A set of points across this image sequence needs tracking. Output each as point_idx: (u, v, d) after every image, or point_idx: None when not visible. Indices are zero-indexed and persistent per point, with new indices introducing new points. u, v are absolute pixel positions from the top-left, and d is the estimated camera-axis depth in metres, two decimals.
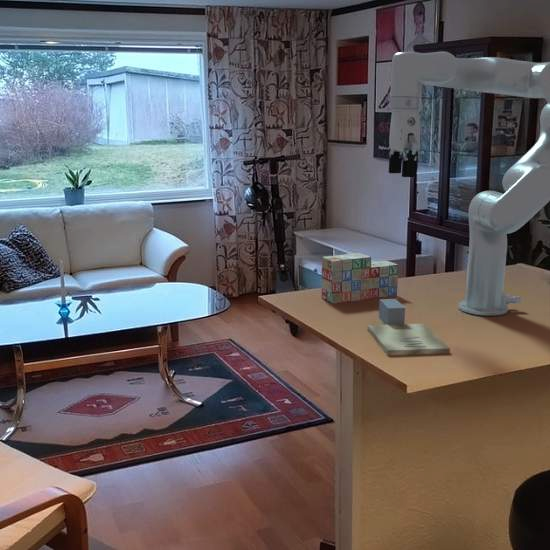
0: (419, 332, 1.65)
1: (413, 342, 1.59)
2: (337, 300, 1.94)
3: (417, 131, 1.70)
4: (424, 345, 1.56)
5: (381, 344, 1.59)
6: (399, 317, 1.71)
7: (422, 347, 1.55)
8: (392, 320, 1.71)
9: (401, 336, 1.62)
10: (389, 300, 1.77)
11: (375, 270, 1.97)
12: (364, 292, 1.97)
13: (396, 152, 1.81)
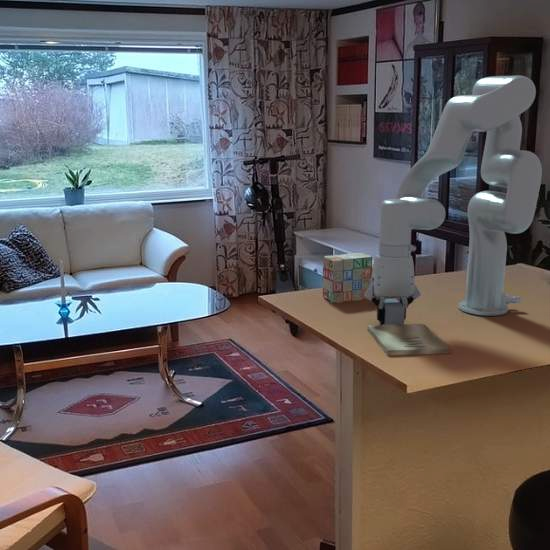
0: (419, 332, 1.65)
1: (413, 342, 1.59)
2: (338, 299, 1.95)
3: None
4: (424, 345, 1.56)
5: (381, 344, 1.59)
6: (399, 317, 1.71)
7: (422, 347, 1.55)
8: (392, 319, 1.71)
9: (401, 336, 1.62)
10: (389, 300, 1.77)
11: None
12: None
13: None
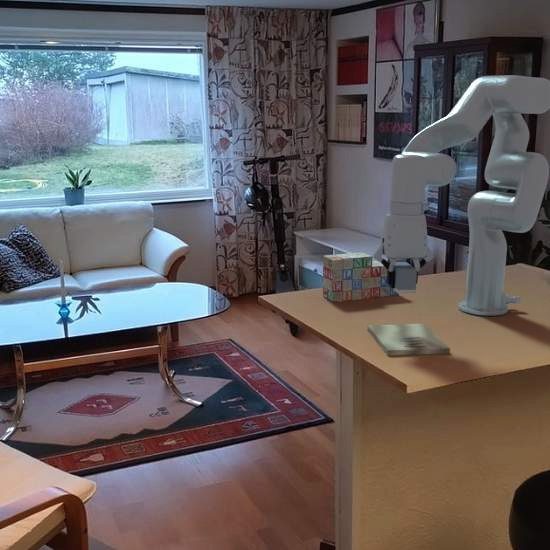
0: (419, 332, 1.65)
1: (413, 342, 1.59)
2: (338, 299, 1.96)
3: None
4: (424, 345, 1.56)
5: (381, 344, 1.59)
6: (410, 279, 1.61)
7: (422, 347, 1.55)
8: (403, 282, 1.60)
9: (401, 336, 1.62)
10: (400, 263, 1.66)
11: (376, 270, 1.98)
12: (365, 291, 1.98)
13: None
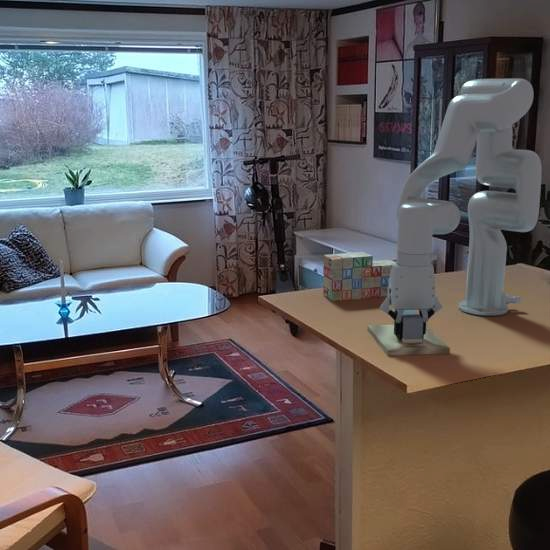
0: None
1: None
2: (337, 298, 1.96)
3: None
4: (424, 345, 1.56)
5: (381, 344, 1.59)
6: (417, 329, 1.57)
7: (422, 347, 1.55)
8: (409, 332, 1.57)
9: None
10: (406, 311, 1.63)
11: (376, 269, 1.99)
12: (365, 291, 1.99)
13: (395, 315, 1.60)
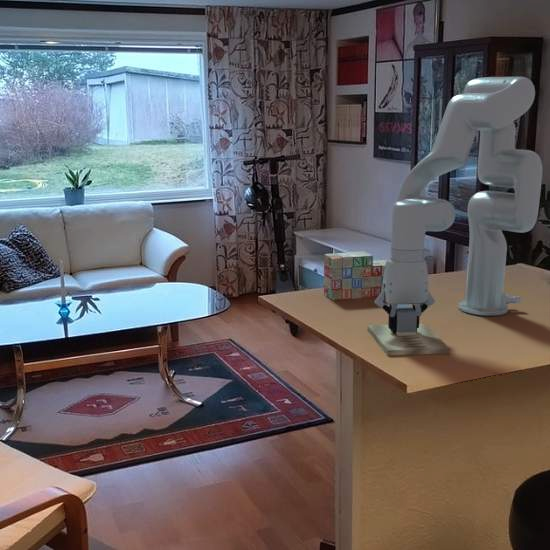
0: (419, 332, 1.65)
1: (413, 342, 1.59)
2: (337, 297, 1.97)
3: None
4: (424, 345, 1.56)
5: (381, 344, 1.59)
6: (411, 322, 1.62)
7: (422, 347, 1.55)
8: (403, 325, 1.62)
9: (401, 336, 1.62)
10: (400, 305, 1.68)
11: (377, 269, 1.99)
12: (365, 290, 1.99)
13: None
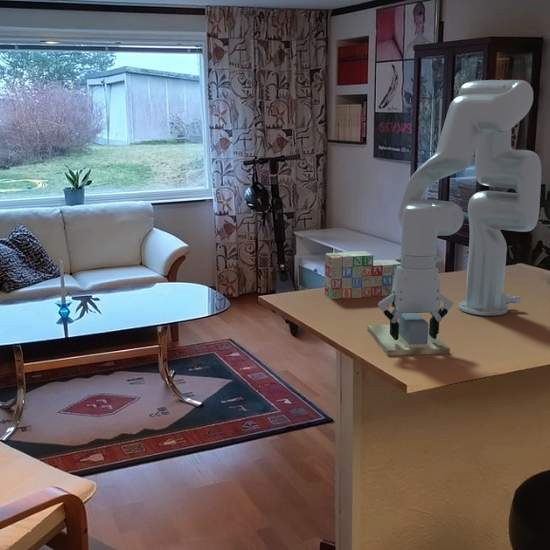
0: None
1: None
2: (337, 296, 1.98)
3: None
4: None
5: (381, 344, 1.59)
6: (422, 334, 1.54)
7: None
8: (414, 337, 1.54)
9: None
10: (410, 315, 1.60)
11: (377, 269, 1.99)
12: (366, 290, 2.00)
13: (392, 315, 1.56)
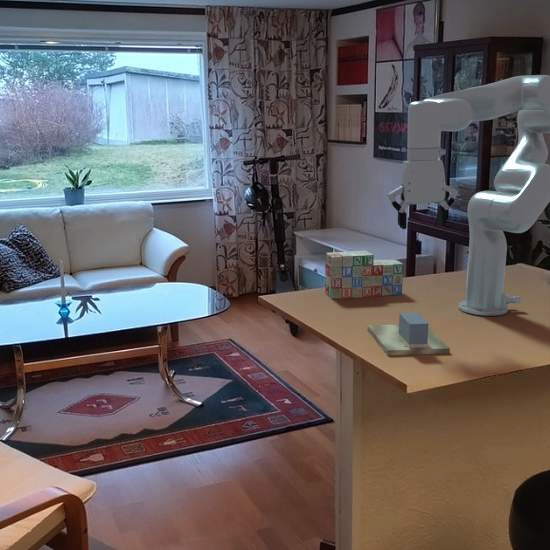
0: None
1: None
2: (337, 295, 1.99)
3: None
4: None
5: (381, 344, 1.59)
6: (422, 334, 1.54)
7: None
8: (414, 337, 1.54)
9: None
10: (410, 315, 1.60)
11: (378, 269, 2.00)
12: (366, 289, 2.00)
13: (400, 206, 1.68)
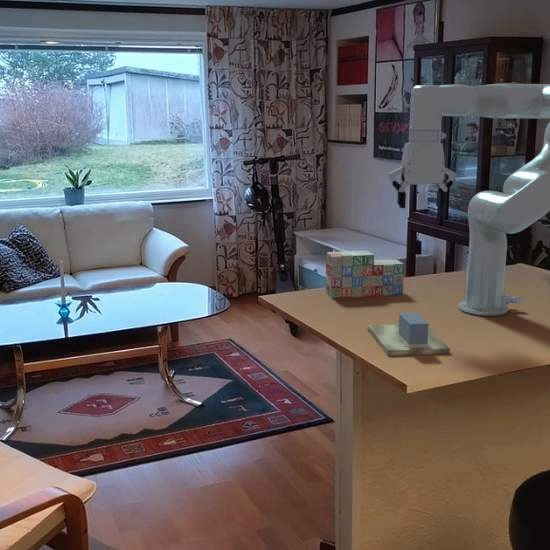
0: None
1: None
2: (337, 295, 2.00)
3: None
4: None
5: (381, 344, 1.59)
6: (422, 334, 1.54)
7: None
8: (414, 337, 1.54)
9: None
10: (410, 315, 1.60)
11: (378, 268, 2.00)
12: (366, 289, 2.01)
13: (400, 186, 1.74)
